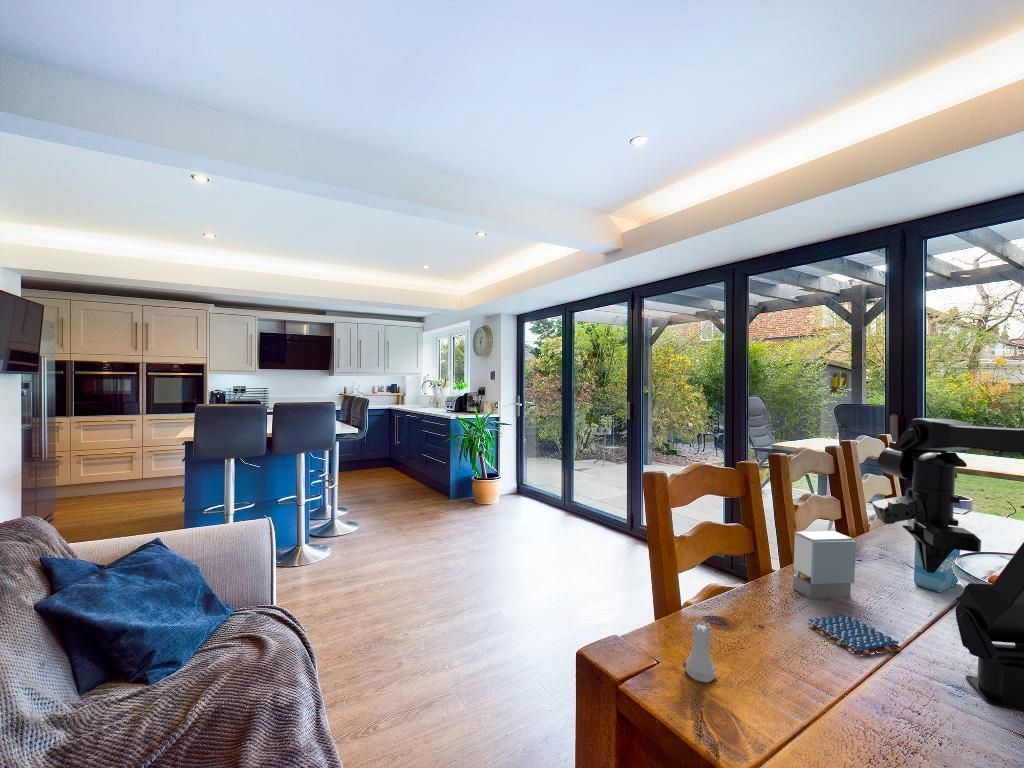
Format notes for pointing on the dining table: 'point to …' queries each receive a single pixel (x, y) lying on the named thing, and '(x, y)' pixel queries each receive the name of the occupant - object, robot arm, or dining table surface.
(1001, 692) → the robot arm
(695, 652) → the rook chess piece
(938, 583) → the blue carton
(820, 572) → the box door
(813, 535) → the box
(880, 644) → the woven mat
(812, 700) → the dining table surface
